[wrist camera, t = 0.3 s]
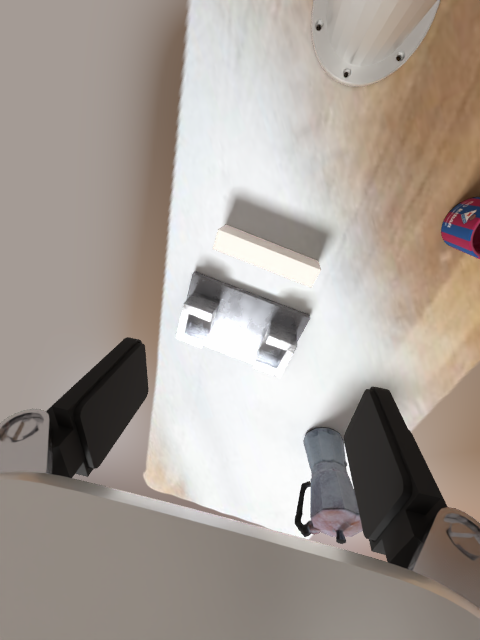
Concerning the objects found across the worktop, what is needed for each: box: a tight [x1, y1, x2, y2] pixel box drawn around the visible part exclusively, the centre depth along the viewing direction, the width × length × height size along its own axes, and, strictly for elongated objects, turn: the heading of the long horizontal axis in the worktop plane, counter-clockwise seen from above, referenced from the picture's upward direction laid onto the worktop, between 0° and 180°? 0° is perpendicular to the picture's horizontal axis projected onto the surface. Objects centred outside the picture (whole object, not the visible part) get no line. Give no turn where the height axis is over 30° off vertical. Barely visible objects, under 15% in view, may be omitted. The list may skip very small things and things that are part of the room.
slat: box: [213, 224, 321, 288], centre depth 40 cm, size 3×16×5 cm, turn 71°
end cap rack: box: [176, 272, 310, 378], centre depth 47 cm, size 14×22×6 cm, turn 72°
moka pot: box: [295, 428, 363, 544], centre depth 52 cm, size 10×15×20 cm, turn 136°
